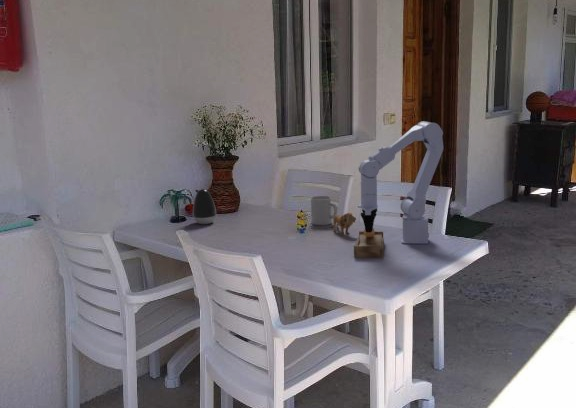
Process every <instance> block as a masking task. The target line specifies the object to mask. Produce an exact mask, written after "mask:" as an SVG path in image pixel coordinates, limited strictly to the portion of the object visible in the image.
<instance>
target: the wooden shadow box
mask: <svg viewBox="0 0 576 408" xmlns="http://www.w3.org/2000/svg"><path fill="white" fill-rule="evenodd" d="M374 231H375V234H374V236H373V237H370V238H368V237H366V236H365V235H364V230H362V231H361V230H360V231H358V232H359V233H358V234H359V235H358V237H357V238H356V242H355V245H354V244H353V258H360V259H361V258H363V259H364V258H365V259H366V258H367V259H370V258H373V259H378V258H379V259H383V256H384V248H385V238H384V231H378V230H377V231H376V230H374Z"/></svg>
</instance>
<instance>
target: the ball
mask: <svg viewBox="0 0 576 408" xmlns="http://www.w3.org/2000/svg"><path fill="white" fill-rule="evenodd" d="M363 231H364V235H365V236H366V237H368V238H370V237H373V236H374V234H375V231H376V230H375V229H374V228H373V229H372V232H366V230H365V228H364V229H363Z"/></svg>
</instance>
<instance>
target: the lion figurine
mask: <svg viewBox="0 0 576 408" xmlns="http://www.w3.org/2000/svg"><path fill="white" fill-rule="evenodd" d="M332 219H333V220H332V221H333V222H332V223H333V225H332V226H331V227H330V229H333V233H336V232H337V230H340V232H341V235H340V236H345V235H349V234H350V232H349V228H350V227H351V226H352V225H353V223H355V222H356V221H357V218H356V217H355V216H353V213H352V212H347V213H344V214H343V215H340V214H337V215H336V216H334V218H332ZM339 227H340V228H339ZM344 229H345V232H344Z"/></svg>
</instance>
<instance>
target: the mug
mask: <svg viewBox="0 0 576 408" xmlns="http://www.w3.org/2000/svg"><path fill="white" fill-rule="evenodd" d="M332 207H333V211H334V213H333V214H332ZM310 208H311V209H310V210H311V213H310V214H311V215H310V216H311V224H312V225H314V226H328V225H330V224H332V223H333V222H332V221H333V220H332V219H334V216H336V215H338V207H337V205H336V203H334V202H332V197H331V196H330V195H329V196H328V195H318V196H317V195H316V196H312V197H311V198H310Z"/></svg>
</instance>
